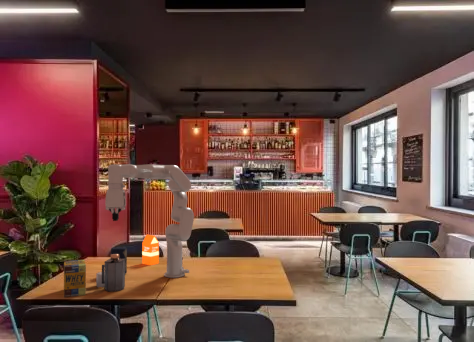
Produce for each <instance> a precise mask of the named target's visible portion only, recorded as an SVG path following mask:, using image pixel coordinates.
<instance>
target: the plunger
mask: <svg viewBox="0 0 474 342" xmlns="http://www.w3.org/2000/svg"><path fill="white" fill-rule="evenodd" d="M110 259H111V260H114V262H115V261H116V260H118V259H119V254H111V253H110Z"/></svg>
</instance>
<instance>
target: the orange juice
mask: <svg viewBox="0 0 474 342" xmlns="http://www.w3.org/2000/svg"><path fill="white" fill-rule="evenodd" d="M141 244H142V248H141V250H142V251H141V254H142V255H141V257H142V258H141V264H143V265H147V266H153V265H154V266H155V265H158V264H159V263H160V261H159V260H160V241H158V239H157V236H156V235H153V234H146V235H145V237H144V239H143V240H142V243H141Z"/></svg>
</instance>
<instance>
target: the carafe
mask: <svg viewBox="0 0 474 342" xmlns="http://www.w3.org/2000/svg"><path fill="white" fill-rule="evenodd" d="M101 272H102V284H105V287H104V291H105V292H107V293H108V292H110V293H114V292H121V291H123V290H125V287H126V274H125V259H118V260H116V261H115V262H114V260H111V258H109V259H107V260H105V261H104V264H102V265H101ZM104 272H105V281H104Z"/></svg>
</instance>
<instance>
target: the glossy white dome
mask: <svg viewBox="0 0 474 342" xmlns="http://www.w3.org/2000/svg"><path fill="white" fill-rule="evenodd" d="M95 276H96V277H95V279H96V281H95V283H96V284H95V287H96V288H99V287H102V288H105V284H102V271H100V272H99V271H98V272H97V273H96V275H95ZM104 281H105V271H104Z"/></svg>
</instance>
